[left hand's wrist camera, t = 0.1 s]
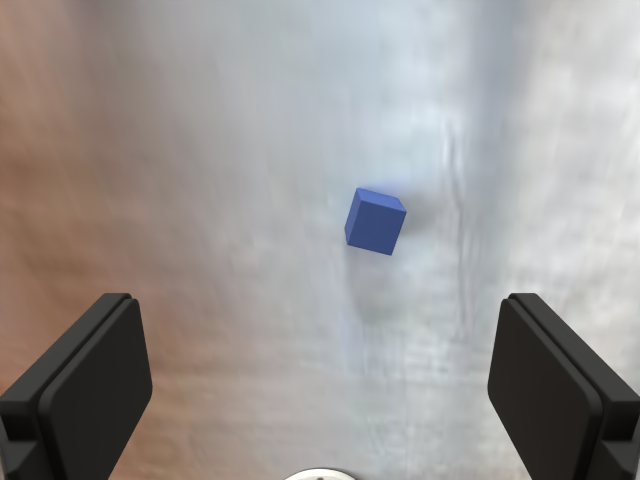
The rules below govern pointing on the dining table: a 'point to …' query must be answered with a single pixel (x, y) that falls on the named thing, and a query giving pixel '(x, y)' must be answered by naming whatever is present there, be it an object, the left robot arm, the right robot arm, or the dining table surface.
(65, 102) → the dining table surface
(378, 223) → the brick
